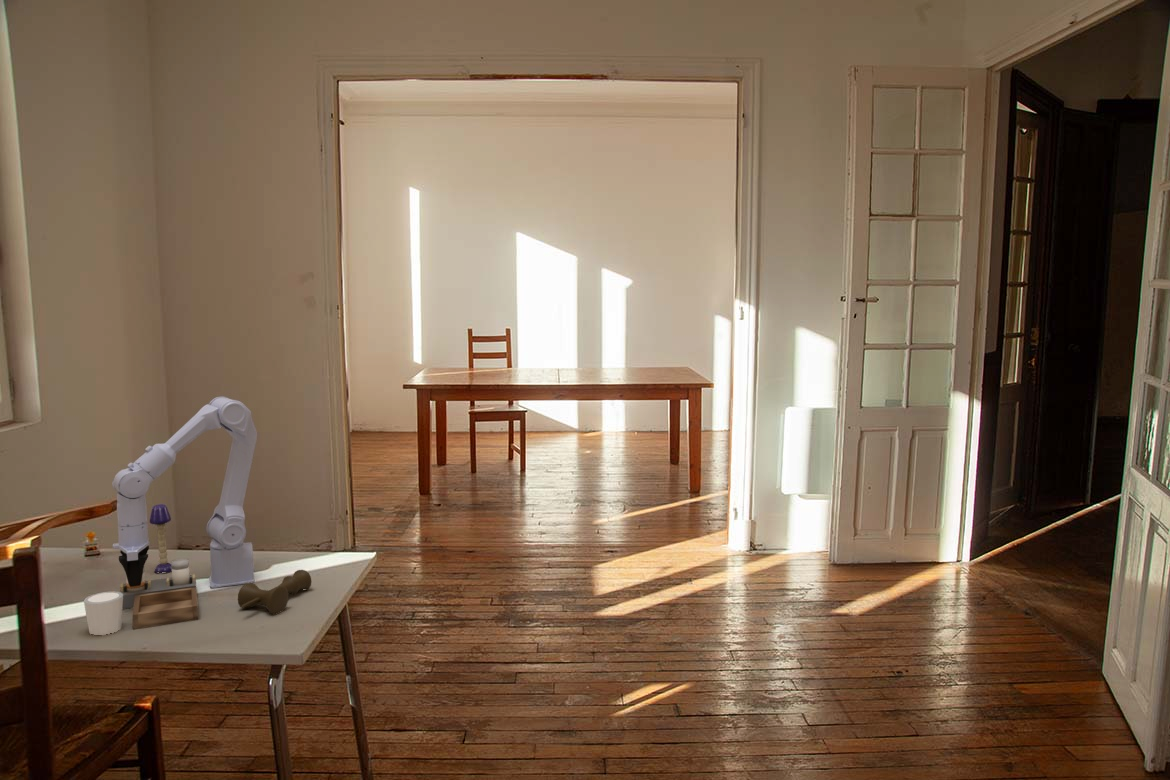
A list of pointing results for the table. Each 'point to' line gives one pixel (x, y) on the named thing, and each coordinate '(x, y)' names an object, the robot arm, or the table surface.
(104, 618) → the white tapered cup
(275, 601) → the kendama
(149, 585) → the fuse holder
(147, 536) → the robot arm
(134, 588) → the marked fuse
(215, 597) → the table surface
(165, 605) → the tray
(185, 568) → the plain fuse
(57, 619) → the table surface
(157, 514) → the toy lamp
